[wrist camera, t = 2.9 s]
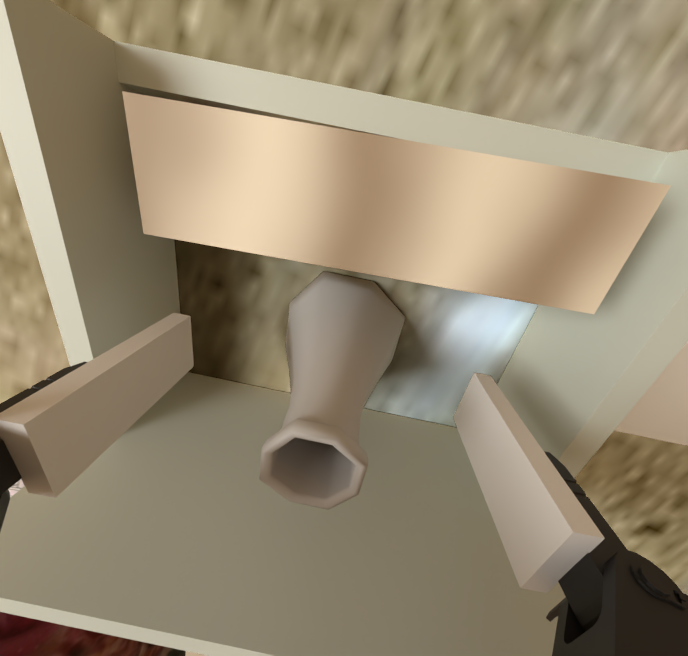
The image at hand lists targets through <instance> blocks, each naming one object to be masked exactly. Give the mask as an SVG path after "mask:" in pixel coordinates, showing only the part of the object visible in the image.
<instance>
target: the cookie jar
mask: <svg viewBox="0 0 688 656" xmlns="http://www.w3.org/2000/svg"><path fill="white" fill-rule="evenodd" d="M23 487H24V484H23V482H22V480H21V479H20V480H19V481H18V482H16V483H15V484H14V485H13V486H12V487H10V488H9V489H8V490H9V492H10V498H11V497H12V496H13V495H14V494H15V493H17V492H18V491H19V490H20V489H22V488H23ZM0 656H185V651H183V650H178V649H174V648H169V647H164V646H160V645H155V644H150V643H145V642H141V641H136V640H131V639H126V638H122V637H117V636H112V635H108V634H103V633H98V632H93V631H89V630H84V629H79V628H74V627H70V626H65V625H60V624H56V623H51V622H46V621H41V620H37V619H32V618H27V617H22V616H18V615H13V614H8V613H4V612H0Z"/></svg>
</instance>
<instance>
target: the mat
mask: <svg viewBox="0 0 688 656" xmlns="http://www.w3.org/2000/svg"><path fill="white" fill-rule="evenodd" d="M614 431H618V432H623V433H628V434H633V435H638V436H642V437H647V438H652V439H657V440H662V441H667V442H671V443H676V444H681V445H686V446H688V342H687V343H686V344H685V345H684V346H683V348H682V349H681V350H680V351H679V352H678V354H677V355H676V356H675V357H674V359H673V360H672V361H671V362H670V363H669V365H668V366H667V367H666V368H665V369H664V371H663V372H662V373H661V374H660V375H659V377H658V378H657V379H656V380H655V382H654V383H653V384H652V385H651V386H650V388H649V389H648V390H647V391H646V392H645V394H644V395H643V396H642V397H641V399H640V400H639V401H638V402H637V403H636V405H635V406H634V407H633V408H632V409H631V411H630V412H629V413H628V414H627V415H626V417H625V418H624V419H623V420H622V422H621V423H620V424H619V425H618V426H617V428H616V429H615V430H614Z"/></svg>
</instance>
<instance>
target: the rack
mask: <svg viewBox="0 0 688 656" xmlns="http://www.w3.org/2000/svg"><path fill="white" fill-rule="evenodd" d="M122 91H124V92H129V93H135V94H141V95H147V96H153V97H159V98H164V99H170V100H176V101H182V102H188V103H193V104H199V105H205V106H211V107H217V108H222V109H228V110H234V111H240V112H246V113H252V114H257V115H263V116H269V117H275V118H281V119H286V120H292V121H298V122H304V123H310V124H316V125H321V126H327V127H333V128H339V129H345V130H350V131H356V132H362V133H368V134H374V135H379V136H385V137H391V138H397V139H403V140H409V141H414V142H420V143H426V144H432V145H438V146H443V147H449V148H455V149H461V150H467V151H473V152H478V153H484V154H490V155H496V156H502V157H507V158H513V159H519V160H525V161H531V162H536V163H542V164H548V165H554V166H560V167H566V168H571V169H577V170H583V171H589V172H595V173H600V174H606V175H612V176H618V177H624V178H630V179H635V180H641V181H647V182H653V183H659V184H664V185H670V186H671V187H670V189H669V190H668V192H667V194H666V195H665V197H664V199H663V200H662V202H661V204H660V205H659V207H658V209H657V210H656V212H655V214H654V215H653V217H652V219H651V220H650V222H649V224H648V225H647V227H646V229H645V230H644V232H643V234H642V235H641V237H640V239H639V240H638V242H637V244H636V245H635V247H634V249H633V250H632V252H631V254H630V255H629V257H628V259H627V260H626V262H625V264H624V265H623V267H622V269H621V270H620V272H619V274H618V275H617V277H616V279H615V281H614V282H613V284H612V286H611V287H610V289H609V291H608V292H607V294H606V296H605V297H604V299H603V301H602V302H601V304H600V306H599V307H598V309H597V311H596V312H595V314H589V313H583V312H578V311H572V310H566V309H561V308H555V307H550V306H544V305H538V307H537V309H536V311H535V313H534V315H533V317H532V319H531V321H530V323H529V325H528V326H527V328H526V330H525V332H524V334H523V336H522V338H521V340H520V342H519V344H518V346H517V348H516V349H515V351H514V353H513V355H512V357H511V359H510V361H509V363H508V365H507V367H506V369H505V370H504V372H503V374H502V376H501V378H500V380H499V382H498V384H497V386H498V387H499V388H500V390H501V391H502V393H503V394H504V396H505V397H506V398H507V400H508V401H509V403H510V404H511V406H512V407H513V408H514V410H515V411H516V413H517V414H518V415H519V417H520V418H521V420H522V421H523V423H524V424H525V425H526V427H527V428H528V430H529V431H530V433H531V434H532V435H533V437H534V438H535V440H536V441H537V442H538V444H539V445H540V447H541V448H542V450H543V451H545V452H550V453H551V454H552V455H553V456H554V457H555V458H556V459H558V460H559V461H560V462H561V463H562V464H563V465H564V466H565V467H566V468H567V470H568V471H569V472H570V474H571V475H572V476H573V478H575V477H576V476H577V475H578V474H579V472H580V471H581V470H582V469H583V468H584V466H585V465H586V464H587V463H588V462H589V460H590V459H591V458H592V457H593V455H594V454H595V453H596V452H597V451H598V449H599V448H600V447H601V446H602V445H603V443H604V442H605V441H606V440H607V438H608V437H609V436H610V435H611V434H612V432H613V431H614V430H615V429H616V428H617V426H618V425H619V424H620V423H621V422H622V420H623V419H624V418H625V417H626V415H627V414H628V413H629V412H630V411H631V409H632V408H633V407H634V406H635V405H636V403H637V402H638V401H639V400H640V399H641V397H642V396H643V395H644V394H645V392H646V391H647V390H648V389H649V388H650V386H651V385H652V384H653V383H654V382H655V380H656V379H657V378H658V377H659V375H660V374H661V373H662V372H663V371H664V369H665V368H666V367H667V366H668V365H669V363H670V362H671V361H672V360H673V359H674V357H675V356H676V355H677V354H678V352H679V351H680V350H681V349H682V348H683V346H684V345H685V344H686V343H687V342H688V149H687V150H681V151H675V152H664V151H659V150H654V149H649V148H644V147H639V146H634V145H629V144H624V143H619V142H614V141H609V140H604V139H599V138H594V137H589V136H584V135H579V134H574V133H569V132H564V131H559V130H554V129H549V128H544V127H539V126H534V125H529V124H524V123H519V122H514V121H510V120H505V119H500V118H495V117H490V116H485V115H480V114H475V113H470V112H465V111H460V110H455V109H450V108H445V107H440V106H435V105H430V104H425V103H420V102H415V101H410V100H405V99H400V98H395V97H390V96H385V95H380V94H375V93H370V92H365V91H360V90H355V89H350V88H345V87H340V86H336V85H331V84H326V83H321V82H316V81H311V80H306V79H301V78H296V77H291V76H286V75H281V74H276V73H271V72H266V71H261V70H256V69H251V68H246V67H241V66H236V65H231V64H226V63H221V62H216V61H211V60H206V59H201V58H196V57H191V56H186V55H181V54H176V53H171V52H167V51H162V50H157V49H152V48H147V47H142V46H137V45H132V44H127V43H122V42H117V41H113V40H111V39H110V38H108V37H106V36H105V35H103V34H102V33H100V32H98V31H97V30H95V29H94V28H92V27H90V26H89V25H87V24H86V23H84V22H83V21H81V20H79V19H78V18H76V17H75V16H73V15H71V14H70V13H68V12H67V11H65V10H63V9H62V8H60V7H59V6H57V5H55V4H54V3H52V2H51V1H49V0H0V131H1V135H2V138H3V141H4V145H5V148H6V152H7V155H8V158H9V162H10V165H11V168H12V172H13V175H14V178H15V182H16V185H17V189H18V192H19V195H20V199H21V202H22V205H23V209H24V212H25V215H26V219H27V222H28V226H29V229H30V232H31V236H32V239H33V242H34V246H35V249H36V252H37V256H38V259H39V263H40V266H41V269H42V273H43V276H44V279H45V283H46V286H47V289H48V293H49V296H50V300H51V303H52V306H53V310H54V313H55V316H56V320H57V323H58V327H59V330H60V333H61V337H62V340H63V343H64V347H65V350H66V353H67V357H68V360H69V364H70V366H73V365H76V364H79V363H82V362H89V361H91V360H93V359H94V358H96V357H98V356H100V355H101V354H103V353H105V352H107V351H108V350H110V349H112V348H113V347H115V346H117V345H119V344H120V343H122V342H124V341H126V340H127V339H129V338H131V337H132V336H134V335H136V334H138V333H139V332H141V331H143V330H145V329H146V328H148V327H150V326H151V325H153V324H155V323H157V322H158V321H160V320H162V319H164V318H165V317H167V316H169V315H171V314H172V313H178V314H180V302H179V290H178V278H177V266H176V253H175V241H174V239H170V238H165V237H159V236H153V235H148V234H144V233H143V227H142V220H141V213H140V207H139V200H138V193H137V187H136V180H135V173H134V167H133V160H132V153H131V147H130V140H129V133H128V127H127V120H126V113H125V107H124V100H123V94H122ZM290 399H291V393H287V392H282V391H277V390H272V389H267V388H262V387H257V386H253V385H248V384H243V383H238V382H233V381H228V380H224V379H219V378H214V377H209V376H204V375H199V374H195V373H190V372H187V373H186V374H185V375H184V376H183V377H182V378H181V379H180V380H179V381H178V382H177V383H176V384H175V385H174V386H173V387H172V388H171V389H170V390H168V391H167V392H166V393H165V394H164V395H163V396H162V397H161V398H160V399H159V400H158V401H157V402H156V403H155V404H154V405H153V406H152V407H151V408H150V409H149V410H147V411H146V412H145V413H144V414H143V415H142V416H141V417H140V418H139V419H138V420H137V421H136V422H135V423H134V424H133V425H132V426H131V427H130V428H129V429H128V430H127V431H125V432H124V433H123V434H122V435H121V436H120V437H119V438H118V439H117V440H116V441H115V442H114V443H113V444H112V445H111V446H110V447H109V448H108V449H107V450H106V451H105V452H103V453H102V454H101V455H100V456H99V457H98V458H97V459H96V460H95V461H94V462H93V463H92V464H91V465H90V466H89V467H88V468H87V469H86V470H85V471H84V472H83V473H81V474H80V475H79V476H78V477H77V478H76V479H75V480H74V481H73V482H72V483H71V484H70V485H69V486H68V487H67V488H66V489H65V490H64V491H63V492H62V493H60V494H59V495H58V496H57V497H56V498H52V497H47V496H42V495H37V494H32V493H28V491H27V489H26V487H25V486H24V487H23V488H22V489H20V490H19V491H18V492H17V493H15V494H14V495H13V496H12V497H11V498H10V501H9V505H8V508H7V512H6V515H5V518H4V522H3V525H2V528H1V532H0V612H4V613H8V614H13V615H18V616H22V617H27V618H32V619H37V620H41V621H46V622H51V623H56V624H60V625H65V626H70V627H74V628H79V629H84V630H89V631H93V632H98V633H103V634H108V635H112V636H117V637H122V638H126V639H131V640H136V641H141V642H145V643H150V644H155V645H160V646H164V647H169V648H174V649H178V650H183V651H188V652H193V653H197V654H202V655H207V656H552V652H553V646H554V640H555V633H556V627H557V621H558V616H557V617H556V618H554V619H553V620H552V621H551V622H550V621H549V620H548V619H547V618H546V616H547V615H548V613H549V611H551V610H552V609H553V608H554V607H555V606H556V605H557V604H559V603H560V602H561V601H562V600H563V599H564V598H565V597H566V596H565V594H564V592H563V590H562V588H561V586H560V584H559V582H558V583H557V584H556V585H555V586H554V587H553V588H552V589H551V590H550V591H549V592H548V593H543V592H538V591H533V590H527V589H522V588H520V587H519V584H518V581H517V579H516V576H515V574H514V571H513V569H512V566H511V564H510V561H509V559H508V556H507V554H506V551H505V548H504V546H503V543H502V541H501V538H500V536H499V533H498V531H497V528H496V526H495V523H494V521H493V518H492V515H491V513H490V510H489V508H488V505H487V503H486V500H485V498H484V495H483V493H482V490H481V488H480V485H479V482H478V480H477V477H476V475H475V472H474V470H473V467H472V465H471V462H470V460H469V457H468V455H467V452H466V450H465V447H464V444H463V442H462V439H461V437H460V434H459V432H458V429H457V428H456V427H451V426H446V425H441V424H437V423H432V422H427V421H422V420H417V419H412V418H407V417H403V416H398V415H393V414H388V413H383V412H378V411H374V410H369V409H364V408H363V410H362V414H361V417H360V429H359V446H360V447H361V448H363V449H364V450H365V451H366V453H367V456H368V467H367V470H366V473H365V476H364V480H363V483H362V486H361V489H360V492H359V495H357V496H355V497H353V498H351V499H349V500H347V501H345V502H343V503H341V504H339V505H337V506H335V507H333V508H331V509H329V510H327V509H322V508H318V507H313V506H308V505H303V504H298V503H294V502H289V501H288V500H287V499H285V498H284V497H282V496H281V495H280V494H278V493H277V492H276V491H274V490H273V489H272V488H270V487H269V486H268V485H266V484H265V483H263V482H262V481H261V480H259V475H260V462H261V450H262V447H263V445H264V443H265V442H266V440H267V439H268V438H269V437H271V436H272V435H274V434H275V433H276V432H278V431H279V430H280V429H281V427H282V424H283V422H284V419H285V416H286V414H287V411H288V409H289V406H290Z"/></svg>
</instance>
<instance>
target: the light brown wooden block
mask: <svg viewBox="0 0 688 656" xmlns="http://www.w3.org/2000/svg"><path fill="white" fill-rule="evenodd" d="M122 94H123V100H124V107H125V113H126V120H127V127H128V133H129V140H130V147H131V153H132V160H133V167H134V173H135V180H136V187H137V193H138V200H139V207H140V213H141V220H142V227H143V233H144V234H148V235H153V236H159V237H165V238H170V239H176V240H181V241H187V242H193V243H198V244H204V245H209V246H215V247H220V248H226V249H232V250H237V251H243V252H248V253H254V254H259V255H265V256H271V257H276V258H282V259H287V260H293V261H299V262H304V263H310V264H315V265H321V266H326V267H332V268H338V269H343V270H349V271H354V272H360V273H366V274H371V275H377V276H382V277H388V278H393V279H399V280H405V281H410V282H416V283H421V284H427V285H432V286H438V287H444V288H449V289H455V290H460V291H466V292H472V293H477V294H483V295H488V296H494V297H499V298H505V299H511V300H516V301H522V302H527V303H533V304H539V305H544V306H550V307H555V308H561V309H566V310H572V311H578V312H583V313H589V314H595V312H596V311H597V309H598V307H599V306H600V304H601V302H602V301H603V299H604V297H605V296H606V294H607V292H608V291H609V289H610V287H611V286H612V284H613V282H614V281H615V279H616V277H617V275H618V274H619V272H620V270H621V269H622V267H623V265H624V264H625V262H626V260H627V259H628V257H629V255H630V254H631V252H632V250H633V249H634V247H635V245H636V244H637V242H638V240H639V239H640V237H641V235H642V234H643V232H644V230H645V229H646V227H647V225H648V224H649V222H650V220H651V219H652V217H653V215H654V214H655V212H656V210H657V209H658V207H659V205H660V204H661V202H662V200H663V199H664V197H665V195H666V194H667V192H668V190H669V189H670V187H671V186H670V185H664V184H659V183H653V182H647V181H641V180H635V179H630V178H624V177H618V176H612V175H606V174H600V173H595V172H589V171H583V170H577V169H571V168H566V167H560V166H554V165H548V164H542V163H536V162H531V161H525V160H519V159H513V158H507V157H502V156H496V155H490V154H484V153H478V152H473V151H467V150H461V149H455V148H449V147H443V146H438V145H432V144H426V143H420V142H414V141H409V140H403V139H397V138H391V137H385V136H379V135H374V134H368V133H362V132H356V131H350V130H345V129H339V128H333V127H327V126H321V125H316V124H310V123H304V122H298V121H292V120H286V119H281V118H275V117H269V116H263V115H257V114H252V113H246V112H240V111H234V110H228V109H222V108H217V107H211V106H205V105H199V104H193V103H188V102H182V101H176V100H170V99H164V98H159V97H153V96H147V95H141V94H135V93H129V92H124V91H122Z"/></svg>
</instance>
